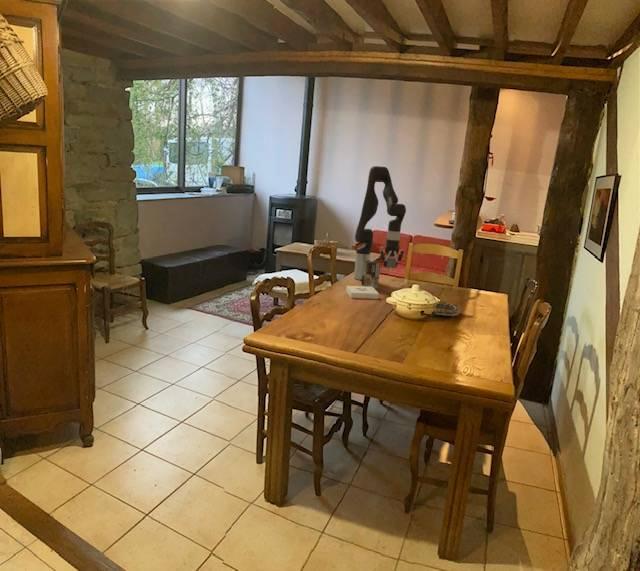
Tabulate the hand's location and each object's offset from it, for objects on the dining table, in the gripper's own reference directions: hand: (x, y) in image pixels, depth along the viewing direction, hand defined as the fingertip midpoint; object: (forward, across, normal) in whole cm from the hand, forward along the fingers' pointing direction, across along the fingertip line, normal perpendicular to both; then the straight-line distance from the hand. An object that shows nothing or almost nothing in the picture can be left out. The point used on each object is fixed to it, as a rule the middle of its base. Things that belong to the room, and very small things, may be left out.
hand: (390, 267), depth 281 cm
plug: (+3, 0, 0) cm, 3 cm away
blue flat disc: (+17, -20, +34) cm, 43 cm away
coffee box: (+17, +7, -16) cm, 24 cm away
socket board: (+16, +16, +3) cm, 23 cm away
